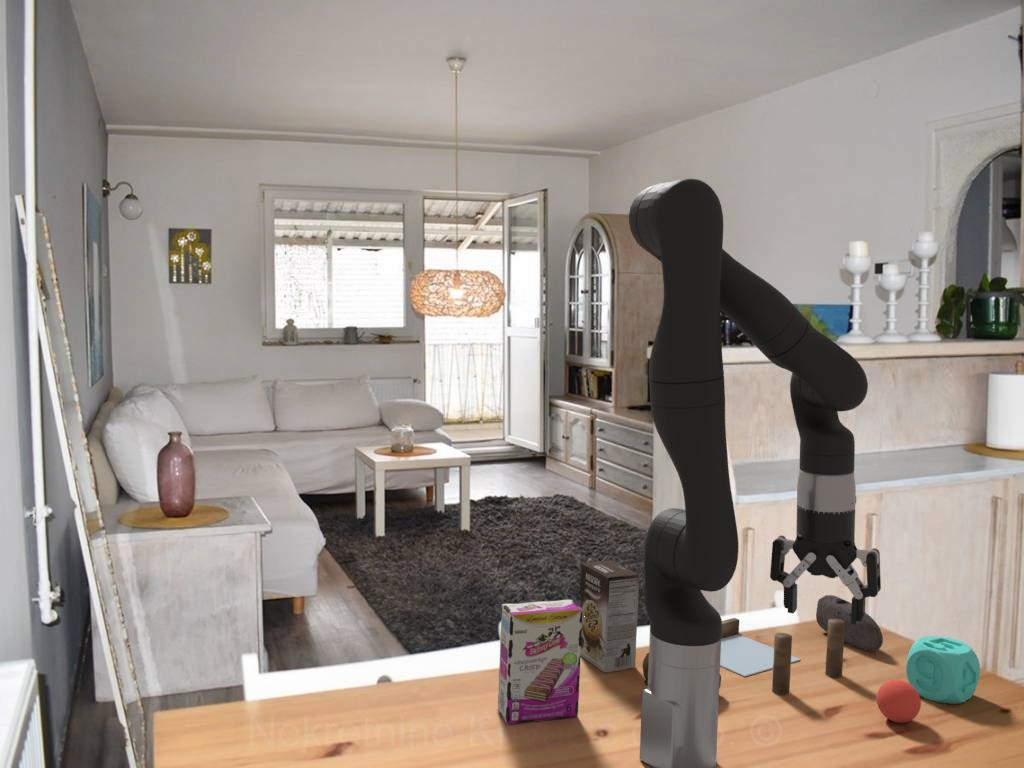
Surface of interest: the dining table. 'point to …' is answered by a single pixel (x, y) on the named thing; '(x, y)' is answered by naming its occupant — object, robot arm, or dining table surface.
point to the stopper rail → (730, 627)
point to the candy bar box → (539, 661)
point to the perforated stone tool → (849, 623)
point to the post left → (782, 663)
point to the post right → (835, 648)
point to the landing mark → (746, 655)
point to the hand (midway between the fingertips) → (823, 617)
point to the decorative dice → (943, 669)
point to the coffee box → (609, 615)
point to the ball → (898, 701)
